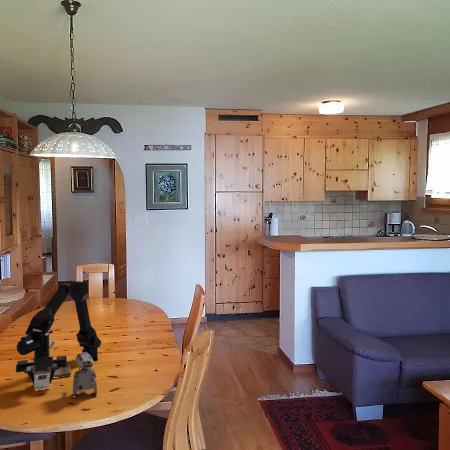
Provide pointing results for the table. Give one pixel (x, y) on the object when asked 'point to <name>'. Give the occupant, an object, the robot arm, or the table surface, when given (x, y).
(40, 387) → the steel link
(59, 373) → the grey peg stand
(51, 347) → the lighter
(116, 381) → the table surface
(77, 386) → the figurine
